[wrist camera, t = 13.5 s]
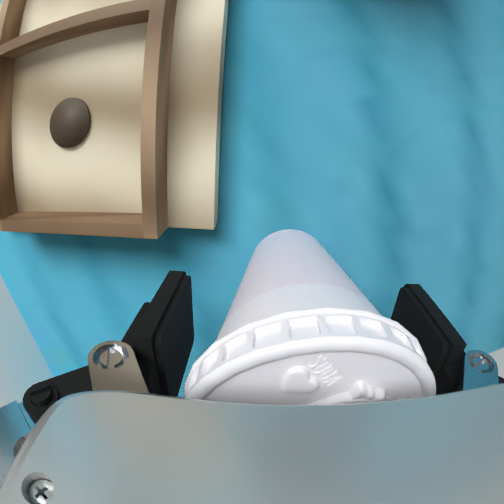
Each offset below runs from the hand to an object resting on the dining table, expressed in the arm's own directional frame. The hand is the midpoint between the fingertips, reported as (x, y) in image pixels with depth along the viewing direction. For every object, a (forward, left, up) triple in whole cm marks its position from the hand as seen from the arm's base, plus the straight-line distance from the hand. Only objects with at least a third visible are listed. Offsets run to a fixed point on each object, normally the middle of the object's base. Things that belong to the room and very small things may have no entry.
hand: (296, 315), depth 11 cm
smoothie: (0, 0, -5) cm, 5 cm away
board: (-16, -10, -4) cm, 20 cm away
